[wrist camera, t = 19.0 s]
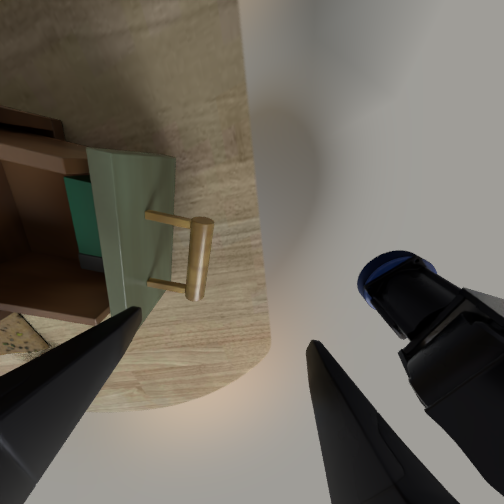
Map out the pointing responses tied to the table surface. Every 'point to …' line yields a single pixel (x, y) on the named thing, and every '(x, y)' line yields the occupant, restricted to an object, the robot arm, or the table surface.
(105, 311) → the drawer
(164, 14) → the table surface
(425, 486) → the robot arm
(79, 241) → the green marker
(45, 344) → the cookie
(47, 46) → the table surface
